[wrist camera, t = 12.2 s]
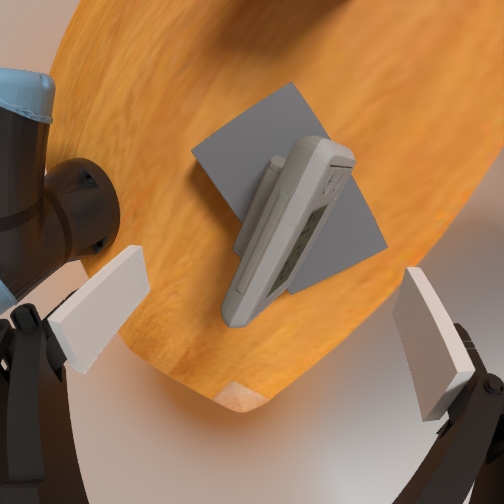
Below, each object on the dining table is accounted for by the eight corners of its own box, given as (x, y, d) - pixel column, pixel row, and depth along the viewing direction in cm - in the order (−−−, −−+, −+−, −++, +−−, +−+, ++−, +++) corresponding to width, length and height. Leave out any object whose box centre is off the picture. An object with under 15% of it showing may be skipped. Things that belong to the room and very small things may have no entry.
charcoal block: (293, 273, 37) (291, 295, 32) (207, 146, 32) (190, 150, 27) (378, 230, 32) (388, 247, 28) (294, 88, 27) (291, 81, 23)
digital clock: (281, 288, 32) (268, 357, 23) (213, 242, 31) (174, 297, 22) (379, 174, 25) (418, 206, 15) (303, 115, 24) (302, 109, 14)
